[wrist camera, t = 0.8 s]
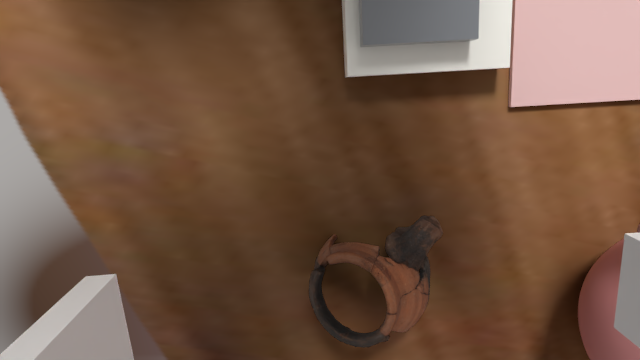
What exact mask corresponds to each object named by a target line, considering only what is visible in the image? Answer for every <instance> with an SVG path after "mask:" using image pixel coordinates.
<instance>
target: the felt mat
mask: <svg viewBox="0 0 640 360" xmlns="http://www.w3.org/2000/svg"><path fill="white" fill-rule="evenodd" d="M623 100H640V0H513V10H512V33H511V57H510V80H509V104H508V107H520V106H537V105H554V104H571V103H588V102H605V101H623Z"/></svg>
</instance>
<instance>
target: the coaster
mask: <svg viewBox="0 0 640 360" xmlns="http://www.w3.org/2000/svg"><path fill="white" fill-rule="evenodd" d="M359 25H360V47H375V46H394V45H412V44H430V43H448V42H467V41H473V40H476V39H478V38H479V0H359Z"/></svg>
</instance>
